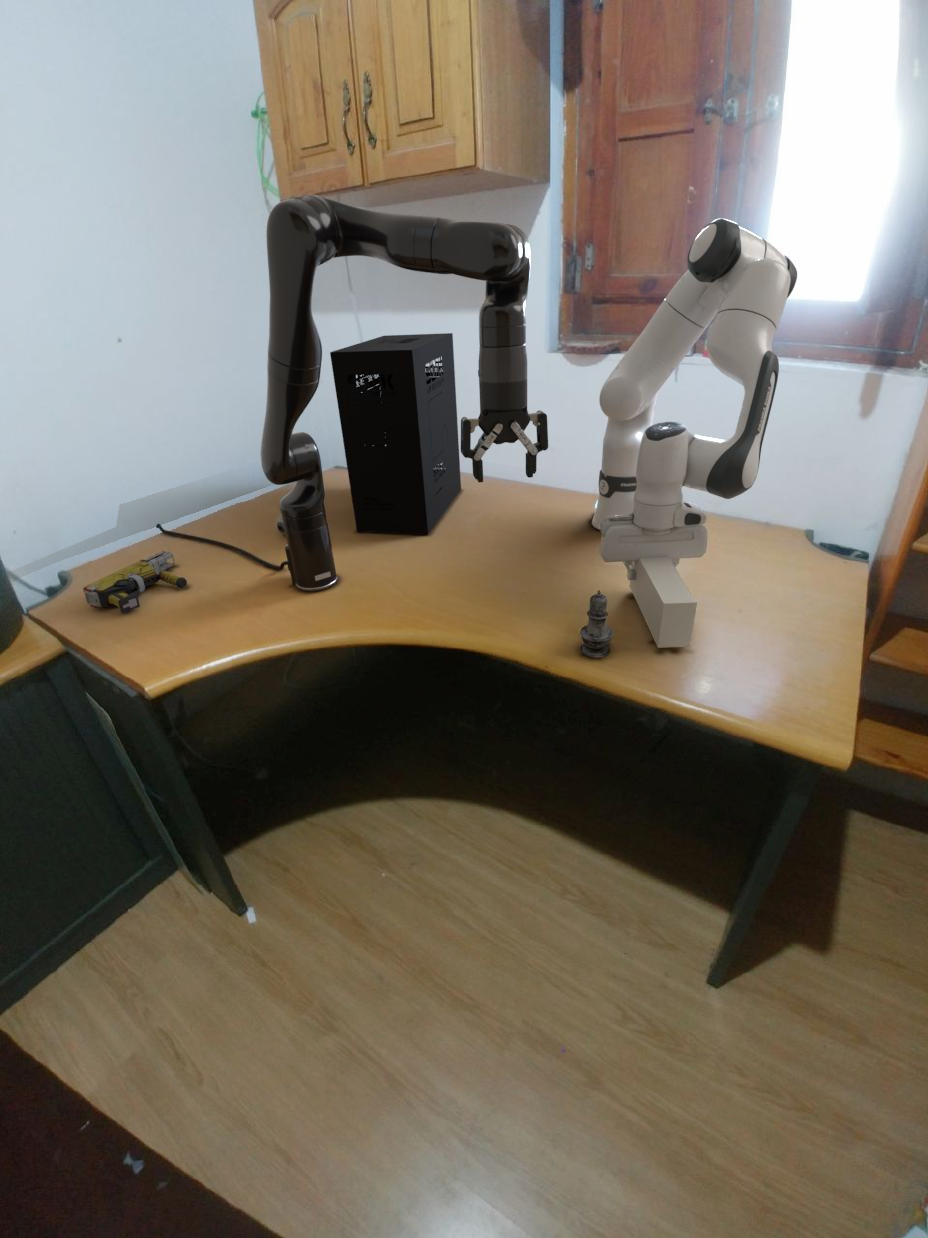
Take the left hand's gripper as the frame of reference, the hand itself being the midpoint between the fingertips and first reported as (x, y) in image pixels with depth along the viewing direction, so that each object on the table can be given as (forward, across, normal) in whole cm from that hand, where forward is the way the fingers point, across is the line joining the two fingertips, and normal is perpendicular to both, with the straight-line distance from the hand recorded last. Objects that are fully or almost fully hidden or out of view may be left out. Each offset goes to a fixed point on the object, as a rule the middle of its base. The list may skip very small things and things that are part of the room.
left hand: (504, 478), depth 102 cm
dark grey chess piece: (+29, +13, -12) cm, 34 cm away
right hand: (+25, +30, +4) cm, 39 cm away
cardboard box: (+29, -11, +73) cm, 79 cm away
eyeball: (+29, -46, +63) cm, 84 cm away
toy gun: (+29, -75, +37) cm, 89 cm away
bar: (+28, +29, -4) cm, 41 cm away
